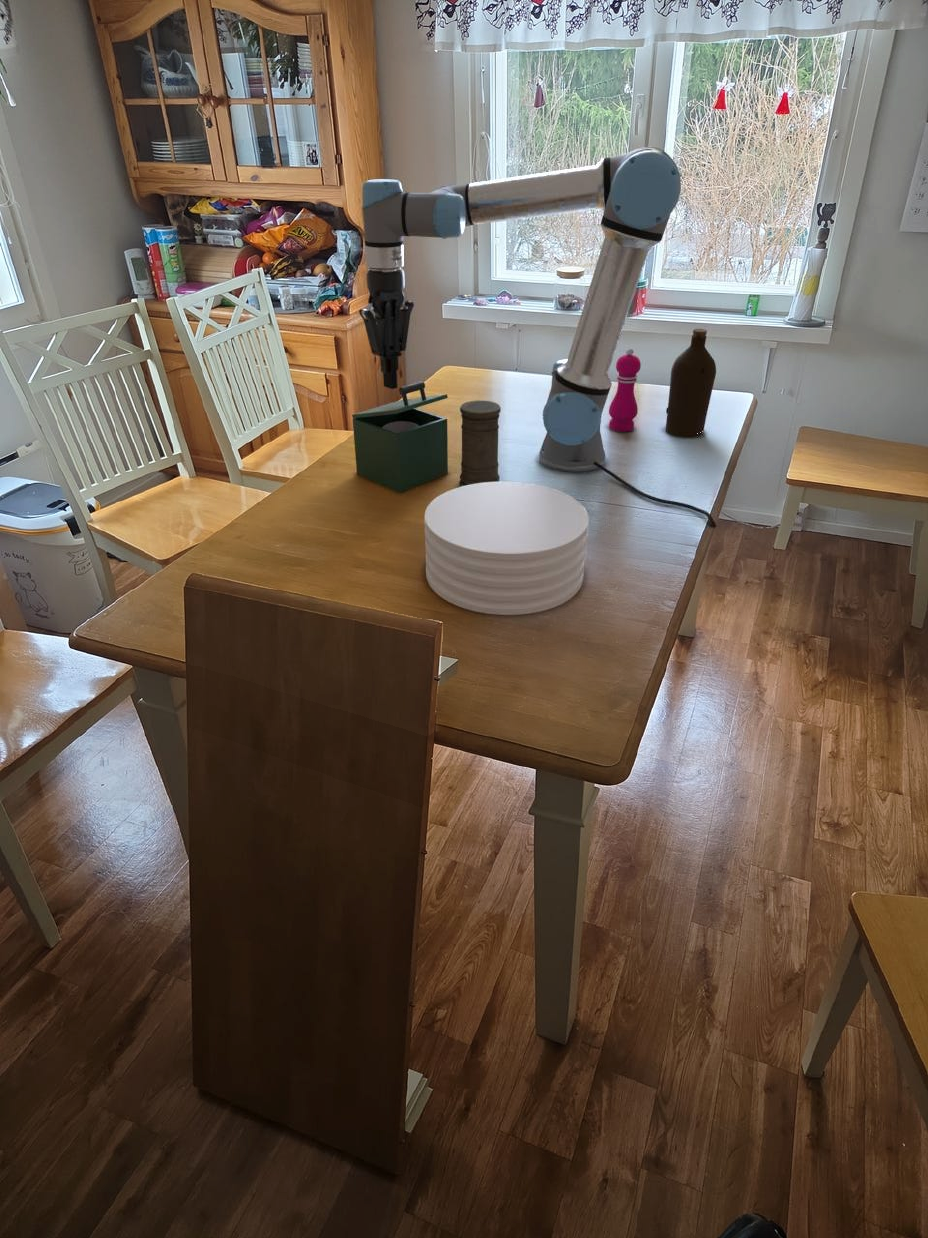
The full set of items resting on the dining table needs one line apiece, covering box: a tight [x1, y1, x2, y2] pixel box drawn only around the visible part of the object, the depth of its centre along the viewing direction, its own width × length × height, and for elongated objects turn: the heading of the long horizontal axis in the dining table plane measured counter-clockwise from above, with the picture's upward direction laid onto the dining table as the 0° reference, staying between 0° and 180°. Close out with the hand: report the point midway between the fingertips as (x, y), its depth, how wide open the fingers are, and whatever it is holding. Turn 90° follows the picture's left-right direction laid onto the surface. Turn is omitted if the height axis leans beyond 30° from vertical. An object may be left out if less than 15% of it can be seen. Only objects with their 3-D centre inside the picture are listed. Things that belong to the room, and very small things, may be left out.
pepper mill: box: [608, 347, 642, 433], centre depth 199 cm, size 7×7×20 cm
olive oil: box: [665, 328, 717, 439], centre depth 195 cm, size 11×11×25 cm
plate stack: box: [423, 481, 590, 616], centre depth 138 cm, size 28×28×12 cm
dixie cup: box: [382, 421, 419, 434], centre depth 176 cm, size 8×8×10 cm
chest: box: [352, 407, 449, 493], centre depth 175 cm, size 15×15×13 cm
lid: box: [351, 381, 449, 419], centre depth 170 cm, size 15×15×5 cm
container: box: [458, 399, 502, 487], centre depth 168 cm, size 9×9×18 cm
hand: (390, 386), depth 170 cm, fingers closed
